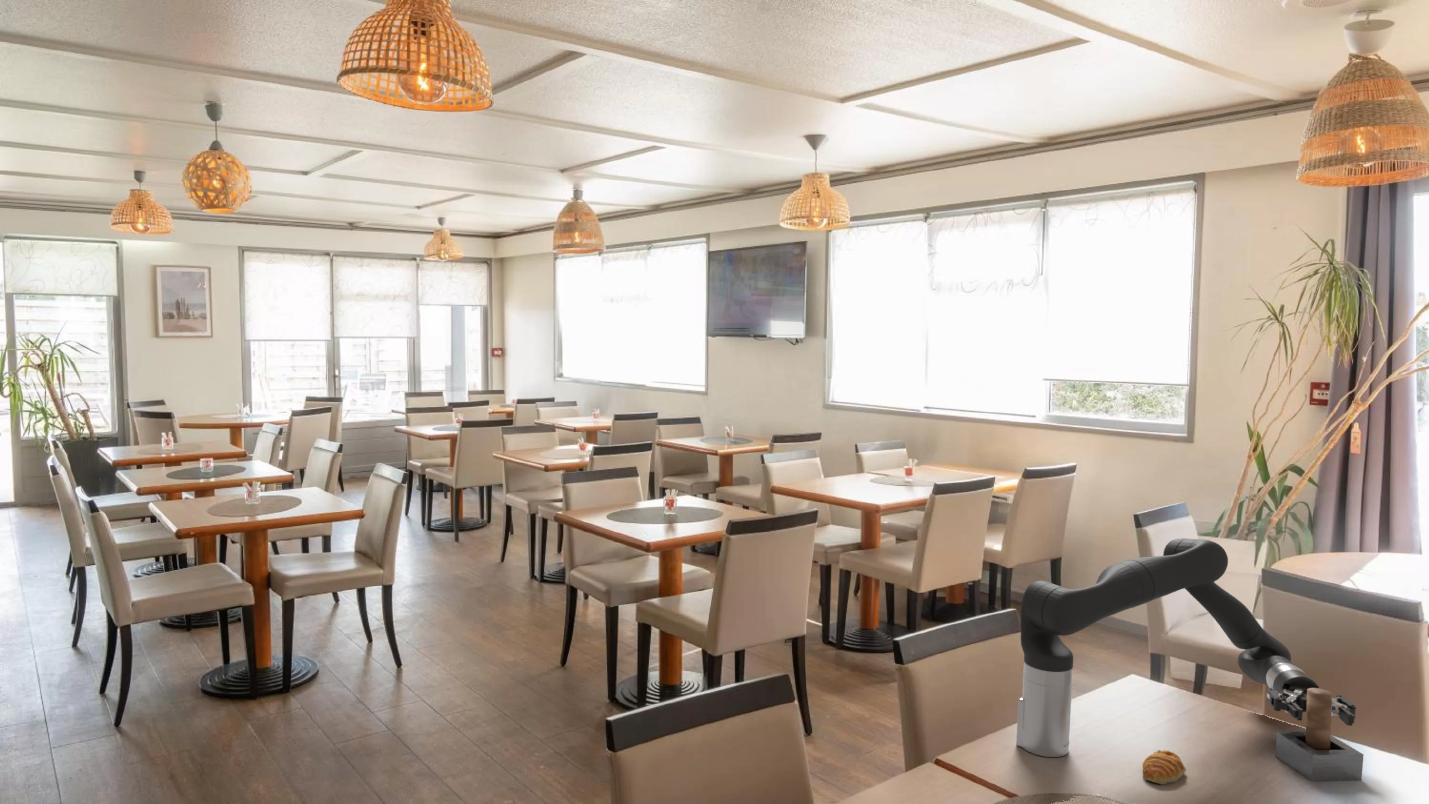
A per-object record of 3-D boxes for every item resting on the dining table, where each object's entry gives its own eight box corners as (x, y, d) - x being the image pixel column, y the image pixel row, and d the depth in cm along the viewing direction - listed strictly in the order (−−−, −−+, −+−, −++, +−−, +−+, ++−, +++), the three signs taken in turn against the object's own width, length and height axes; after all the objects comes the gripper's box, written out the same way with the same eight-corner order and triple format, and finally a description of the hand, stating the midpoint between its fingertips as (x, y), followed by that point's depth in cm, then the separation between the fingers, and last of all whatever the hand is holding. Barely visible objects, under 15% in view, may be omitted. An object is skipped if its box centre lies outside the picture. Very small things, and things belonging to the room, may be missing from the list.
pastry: (1171, 791, 168) (1172, 771, 168) (1133, 779, 172) (1134, 759, 172) (1187, 774, 175) (1188, 754, 175) (1149, 762, 179) (1150, 743, 179)
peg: (1303, 763, 178) (1306, 692, 177) (1305, 755, 181) (1308, 686, 180) (1328, 768, 175) (1331, 697, 174) (1330, 761, 178) (1332, 690, 177)
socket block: (1311, 780, 173) (1313, 755, 172) (1275, 756, 183) (1276, 731, 182) (1361, 779, 173) (1363, 754, 173) (1322, 755, 183) (1324, 731, 183)
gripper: (1255, 665, 192) (1285, 695, 177) (1332, 672, 189) (1369, 703, 173) (1253, 700, 193) (1282, 732, 177) (1329, 707, 190) (1366, 741, 174)
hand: (1325, 718), depth 175 cm, fingers open, 8 cm apart
